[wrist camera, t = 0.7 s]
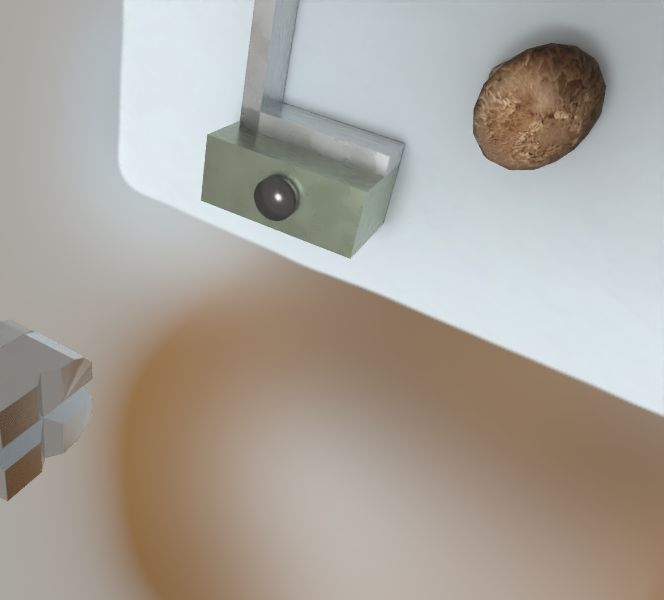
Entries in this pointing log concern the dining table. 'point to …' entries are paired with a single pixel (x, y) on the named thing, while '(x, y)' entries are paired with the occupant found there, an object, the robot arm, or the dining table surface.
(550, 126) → the mushroom
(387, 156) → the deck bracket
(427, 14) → the dining table surface
